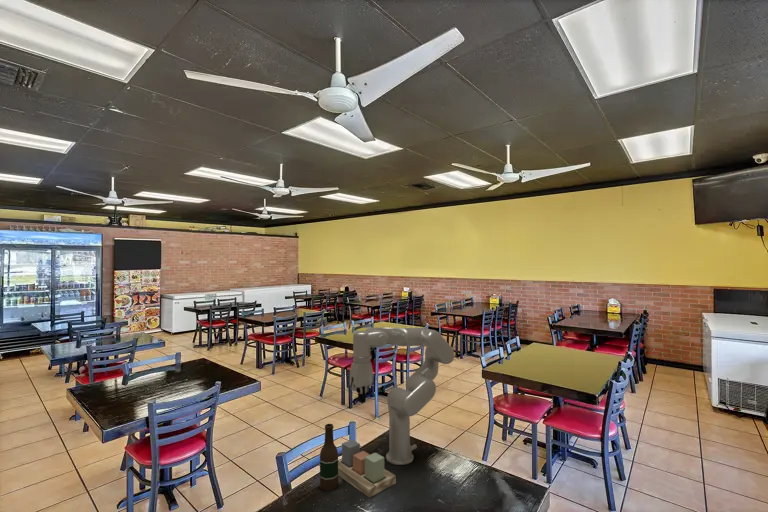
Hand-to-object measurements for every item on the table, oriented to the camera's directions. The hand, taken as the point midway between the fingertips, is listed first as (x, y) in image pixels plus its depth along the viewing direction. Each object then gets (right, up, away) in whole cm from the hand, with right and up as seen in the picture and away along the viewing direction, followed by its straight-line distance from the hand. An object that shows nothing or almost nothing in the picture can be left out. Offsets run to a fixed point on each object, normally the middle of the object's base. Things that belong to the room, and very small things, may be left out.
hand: (361, 401), depth 158 cm
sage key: (+6, -26, -12) cm, 29 cm away
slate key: (-5, -26, 0) cm, 27 cm away
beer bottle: (-13, -29, -13) cm, 34 cm away
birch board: (+1, -29, -6) cm, 30 cm away
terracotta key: (+1, -28, -6) cm, 29 cm away
